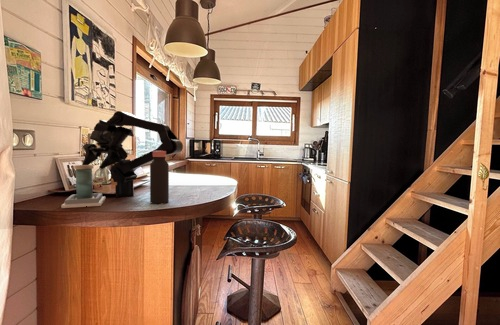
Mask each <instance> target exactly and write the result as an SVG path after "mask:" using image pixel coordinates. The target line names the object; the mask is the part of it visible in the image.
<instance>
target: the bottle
mask: <svg viewBox="0 0 500 325" xmlns="http://www.w3.org/2000/svg"><path fill="white" fill-rule="evenodd" d="M152 151H153V150H152ZM153 158H154V160H153V161H152V162H150V163H149V174H150V175H149V188H150V189H149V191H150V192H149V197H150V198H149V200H150V201H149V202H150V203H151V204H153V205H154V204H155V205H161V204H160V203H163V204H167V203H168V202H169V197H170V196H169V195H170V193H169V192H170V191H169V190H170V188H169V187H170V186H169V185H170V182H169V181H170V179H169V176H170V175H169V174H170V173H169V172H170V169H169V168H170V167H169V165H170V164H169V163H168V162H167V161H166V158H167V156H166V151H153ZM166 202H167V203H166Z"/></svg>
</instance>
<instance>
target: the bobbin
mask: <svg viewBox="0 0 500 325" xmlns="http://www.w3.org/2000/svg"><path fill="white" fill-rule="evenodd" d="M73 169H74V170H75V182H76V183H75V185H76V187H75V188H76V194H77V198H75V199H88V198H94V196H93V194H94V193H93V192H94V190H93V169H94V165H93V164H89V165H82V164H77V165H76V164H75V165H73Z"/></svg>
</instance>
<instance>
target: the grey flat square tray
mask: <svg viewBox="0 0 500 325" xmlns="http://www.w3.org/2000/svg"><path fill="white" fill-rule="evenodd" d="M93 196H94V198H88V199H75V198H77V193H76V194H71V195H70V196H68V197H67V198H66V199H65V200H64V203H62V204H61V209H68V208H69V209H70V208H71V209H72V208H85V207H86V206H87V207H99V206H102V205H103V203H104V202H105V200H106V196H105V195H104V196H103V193H102V192H98V193H97V192H96V193H95V192H94V193H93Z"/></svg>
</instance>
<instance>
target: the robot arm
mask: <svg viewBox="0 0 500 325" xmlns="http://www.w3.org/2000/svg"><path fill="white" fill-rule="evenodd" d="M126 126H127V127H126ZM131 127H136V128H141V129H143V130H147V131H152V132H156V133H157V134H158V136H159V140H160V142H161V144H159V146H158V147H157V148H155V149H153V150H151V151H149V152H147V153H145V154H142V155H140V156H138V157H136V158H134V159H132V160H131V158H128V155H129V154H128V152H127V151H126V149H124V147H123V143H124V141H126V139H127V138H128V137H135V136H134V135H135V134H134V133H133V132H134V131H133V128H131ZM89 139H90V140H93V141H95V142H96V143H85V144H83V146H82V149H83V150H84V151H85V156H84V159H83V162H82V164H81V165H91V164H92V163H94V162H95V161H97V160H98V159H99V157H100V156H102V154H106V157H105V158H104V160H103V161H102V163H101V164H100V165H99V169H101V170H103V169H105V168H107V167H110V166H111V167H110V169H109V170H110V171H109V172H110V175H111V177H112V181H113V182H114V183H116V184H115V186H114V187H115V195H116V197H118V198H119V197H132V196H134V194H135V192H134V181H135V180H137V177H138V174H137V173H136V172H135V171H137V169H139V168H141V167H143V166H145V165H148V164H151V163H152V161H153V160H154V158H153V151H166V157H167V156H172V155H175V154H179V153H181V152H182V151H183V147H184V144H183V143H182V141H181V140H179V139H178V136H176V134H175V133H174V132H173V131H172V129H171V128H170V126H169V125H168V124H165V123H159V122H156V121H152V120H147V119H143V118H140V117H138V116H136V115H134V114H133V113H130V112H126V111H121V110H116V111H115V112H114V114H113V116H111V117H110V118H109V119H108V120H105V119H99V120H98V122H97V123H95V125H94V127H93V130H92V132H91V134H90V135H89ZM97 145H98V146H97ZM127 158H128V159H127Z"/></svg>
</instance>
